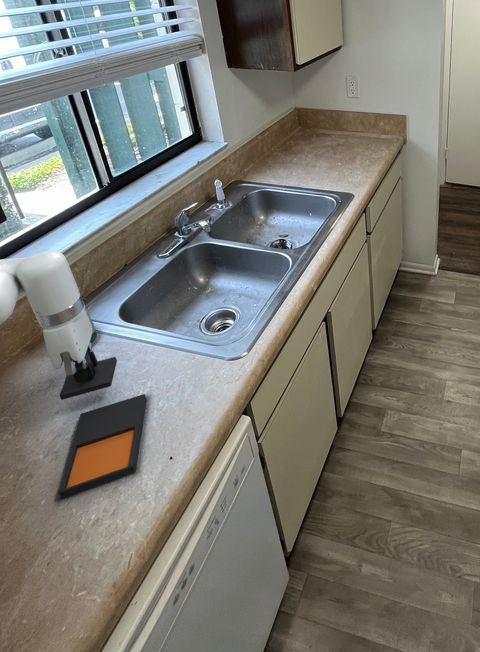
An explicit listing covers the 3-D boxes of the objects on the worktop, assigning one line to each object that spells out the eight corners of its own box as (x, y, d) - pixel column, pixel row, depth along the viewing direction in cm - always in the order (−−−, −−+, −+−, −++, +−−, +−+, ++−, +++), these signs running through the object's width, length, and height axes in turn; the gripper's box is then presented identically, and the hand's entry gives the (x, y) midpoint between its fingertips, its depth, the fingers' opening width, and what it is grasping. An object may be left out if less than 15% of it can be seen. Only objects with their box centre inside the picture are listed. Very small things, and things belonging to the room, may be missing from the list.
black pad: (61, 400, 91) (49, 375, 88) (70, 373, 97) (60, 349, 94) (111, 386, 94) (101, 362, 91) (117, 360, 100) (108, 337, 97)
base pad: (60, 499, 79) (57, 493, 78) (83, 419, 92) (80, 413, 91) (135, 472, 83) (133, 466, 82) (146, 399, 96) (144, 393, 95)
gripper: (50, 287, 93) (77, 349, 100) (22, 345, 79) (55, 412, 87) (92, 279, 95) (114, 340, 103) (71, 333, 82) (99, 399, 89)
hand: (87, 372), depth 95 cm, fingers closed on black pad, 2 cm apart
